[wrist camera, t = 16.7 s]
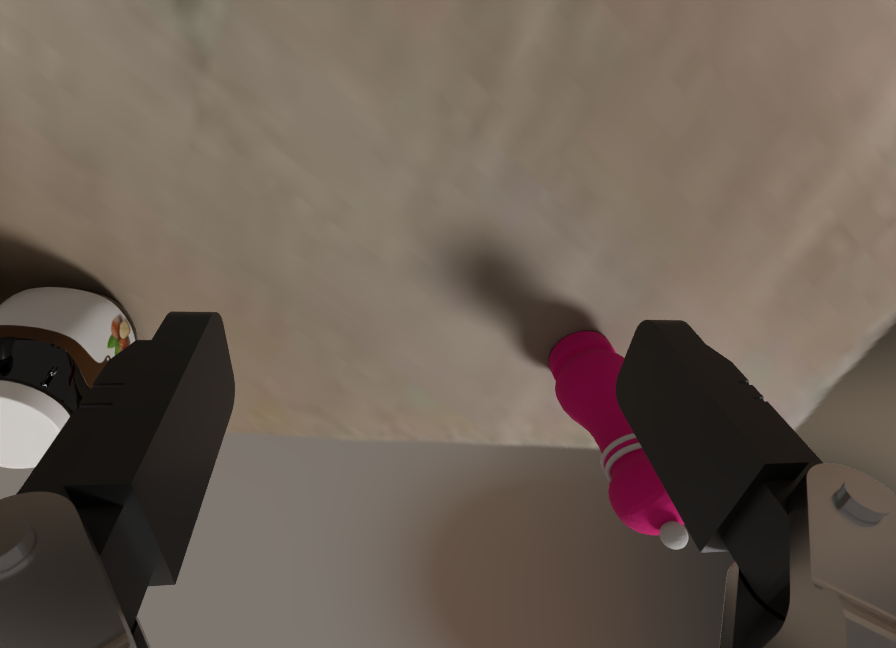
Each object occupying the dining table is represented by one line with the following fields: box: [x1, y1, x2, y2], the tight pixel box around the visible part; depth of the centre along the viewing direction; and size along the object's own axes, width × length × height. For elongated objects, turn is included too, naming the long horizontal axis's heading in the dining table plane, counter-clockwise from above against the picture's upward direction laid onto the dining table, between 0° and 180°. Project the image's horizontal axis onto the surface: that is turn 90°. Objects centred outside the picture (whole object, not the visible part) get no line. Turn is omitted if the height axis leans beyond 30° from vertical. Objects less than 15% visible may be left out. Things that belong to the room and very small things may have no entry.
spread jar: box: [0, 286, 137, 469], centre depth 34 cm, size 12×11×12 cm
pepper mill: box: [549, 331, 688, 549], centre depth 40 cm, size 7×7×20 cm
